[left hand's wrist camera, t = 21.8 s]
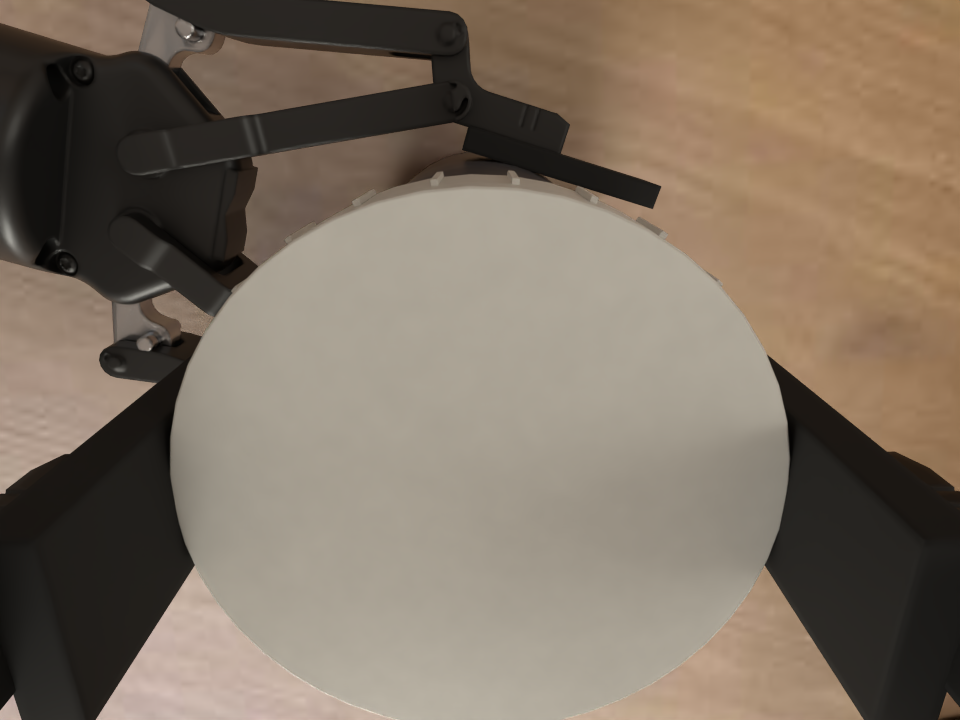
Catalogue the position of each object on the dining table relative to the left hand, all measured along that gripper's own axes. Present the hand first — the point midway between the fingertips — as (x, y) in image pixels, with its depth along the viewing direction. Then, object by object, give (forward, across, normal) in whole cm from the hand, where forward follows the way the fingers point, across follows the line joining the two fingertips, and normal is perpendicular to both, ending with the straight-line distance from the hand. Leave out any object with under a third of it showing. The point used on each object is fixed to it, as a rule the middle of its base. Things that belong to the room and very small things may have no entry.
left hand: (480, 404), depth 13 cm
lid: (-3, 0, 0) cm, 3 cm away
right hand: (+11, -4, +1) cm, 12 cm away
